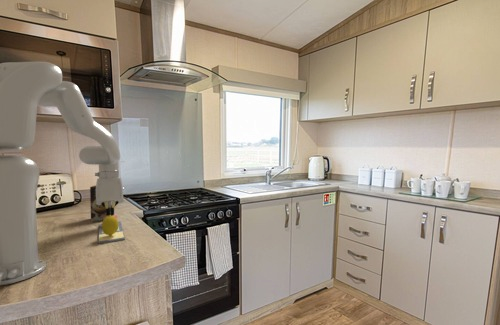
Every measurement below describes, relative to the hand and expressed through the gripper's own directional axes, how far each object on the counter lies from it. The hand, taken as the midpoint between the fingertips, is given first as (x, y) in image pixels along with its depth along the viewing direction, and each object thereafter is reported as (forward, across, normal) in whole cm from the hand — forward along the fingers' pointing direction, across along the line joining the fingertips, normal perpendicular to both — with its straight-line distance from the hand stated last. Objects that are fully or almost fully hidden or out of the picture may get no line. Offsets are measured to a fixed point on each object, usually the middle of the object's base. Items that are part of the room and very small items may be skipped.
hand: (110, 216), depth 110 cm
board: (+4, 0, -10) cm, 10 cm away
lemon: (+4, 0, -18) cm, 18 cm away
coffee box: (+4, -3, +15) cm, 16 cm away
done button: (+1, 0, 0) cm, 2 cm away
